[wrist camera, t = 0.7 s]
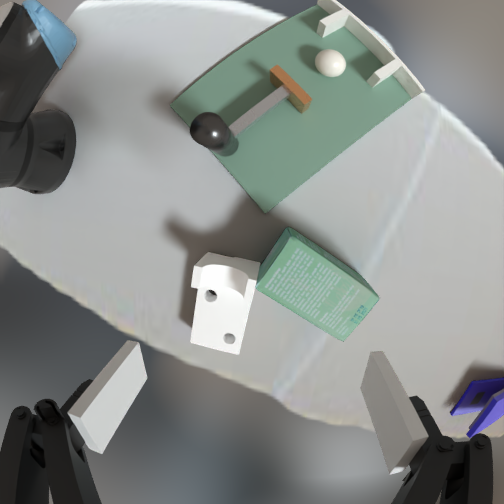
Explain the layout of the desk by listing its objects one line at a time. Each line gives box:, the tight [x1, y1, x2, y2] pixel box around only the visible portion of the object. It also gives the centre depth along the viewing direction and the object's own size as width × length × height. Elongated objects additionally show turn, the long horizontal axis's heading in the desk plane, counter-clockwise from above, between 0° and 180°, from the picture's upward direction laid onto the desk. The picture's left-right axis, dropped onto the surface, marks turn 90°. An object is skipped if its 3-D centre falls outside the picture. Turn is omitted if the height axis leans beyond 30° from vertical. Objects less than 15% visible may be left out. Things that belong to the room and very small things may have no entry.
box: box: [255, 227, 380, 342], centre depth 33 cm, size 7×14×8 cm, turn 58°
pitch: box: [170, 0, 425, 214], centre depth 29 cm, size 20×28×4 cm
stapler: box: [450, 378, 504, 438], centre depth 35 cm, size 12×28×10 cm, turn 79°
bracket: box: [190, 252, 260, 355], centre depth 35 cm, size 13×7×8 cm, turn 168°
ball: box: [315, 49, 346, 77], centre depth 27 cm, size 4×4×4 cm
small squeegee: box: [190, 65, 312, 157], centre depth 27 cm, size 6×13×10 cm, turn 130°
